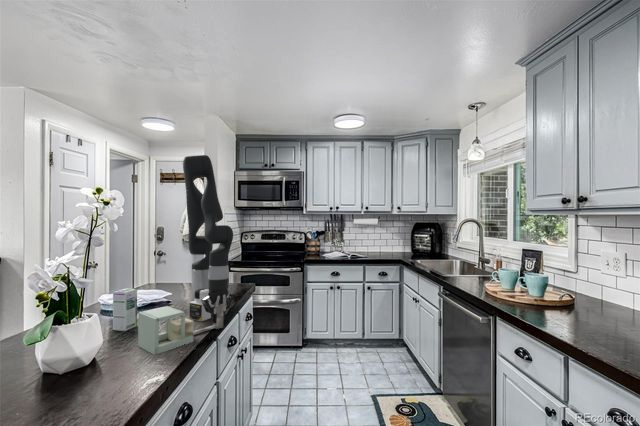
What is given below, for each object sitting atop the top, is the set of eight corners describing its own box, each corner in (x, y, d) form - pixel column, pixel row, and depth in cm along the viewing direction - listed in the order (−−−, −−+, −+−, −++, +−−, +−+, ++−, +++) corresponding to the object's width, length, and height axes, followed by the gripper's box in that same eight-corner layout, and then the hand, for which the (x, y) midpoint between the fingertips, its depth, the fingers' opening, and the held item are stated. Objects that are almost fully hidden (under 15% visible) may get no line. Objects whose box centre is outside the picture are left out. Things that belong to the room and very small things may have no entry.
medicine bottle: (189, 319, 133) (189, 290, 133) (202, 314, 139) (203, 286, 140) (201, 321, 130) (201, 292, 130) (214, 317, 136) (215, 288, 136)
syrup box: (125, 331, 118) (126, 292, 119) (112, 330, 120) (112, 291, 120) (137, 326, 124) (137, 288, 124) (124, 325, 125) (124, 287, 125)
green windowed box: (176, 334, 116) (176, 303, 116) (193, 341, 109) (193, 309, 109) (138, 345, 105) (138, 312, 105) (154, 354, 99) (154, 319, 99)
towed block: (216, 324, 126) (216, 301, 127) (225, 328, 123) (226, 304, 123) (167, 339, 111) (168, 313, 111) (176, 343, 107) (177, 316, 108)
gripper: (227, 273, 132) (227, 315, 131) (196, 278, 121) (195, 324, 120) (239, 275, 127) (238, 319, 127) (208, 280, 116) (207, 328, 116)
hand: (217, 321), depth 124 cm, fingers closed on towed block, 3 cm apart
